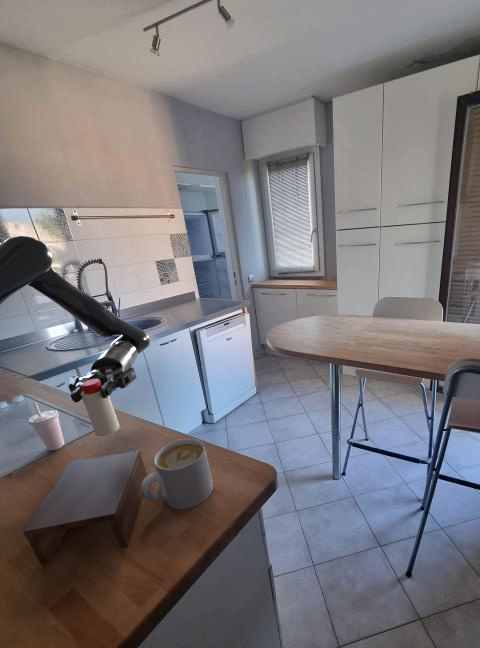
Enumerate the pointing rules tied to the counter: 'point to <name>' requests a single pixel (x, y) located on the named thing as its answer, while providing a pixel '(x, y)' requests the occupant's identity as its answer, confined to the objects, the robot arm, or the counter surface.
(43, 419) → the smoothie
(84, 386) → the spice bottle
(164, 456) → the coffee mug
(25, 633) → the counter surface
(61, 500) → the shelf
